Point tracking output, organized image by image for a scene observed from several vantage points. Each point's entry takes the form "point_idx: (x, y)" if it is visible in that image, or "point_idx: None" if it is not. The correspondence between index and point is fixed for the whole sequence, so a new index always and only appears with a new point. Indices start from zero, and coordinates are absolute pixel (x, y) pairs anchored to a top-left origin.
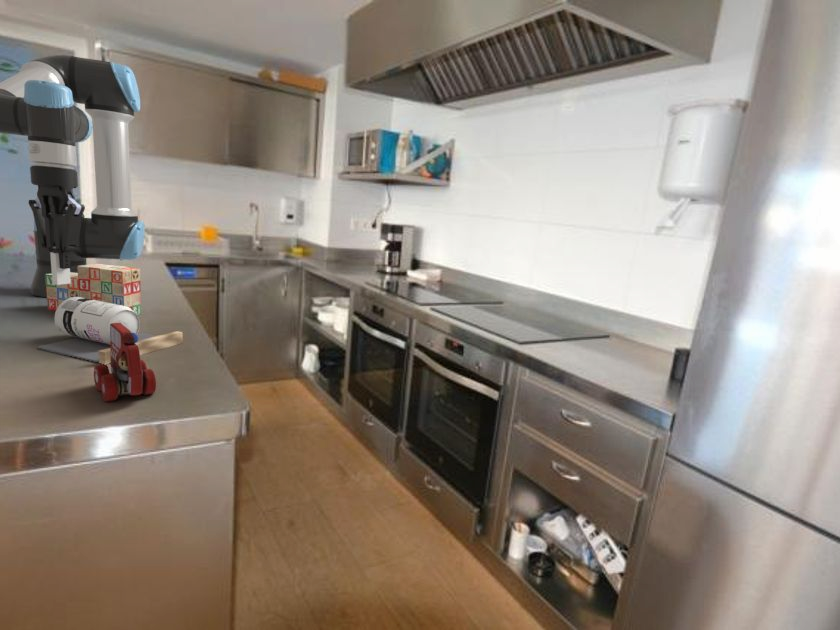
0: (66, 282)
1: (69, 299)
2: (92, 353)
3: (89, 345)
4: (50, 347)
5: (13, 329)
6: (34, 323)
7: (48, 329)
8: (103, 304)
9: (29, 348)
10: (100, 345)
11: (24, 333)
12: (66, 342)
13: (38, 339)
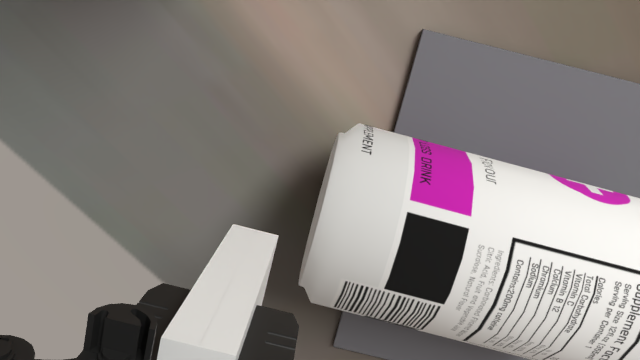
0: (271, 264)
1: (338, 278)
2: None
3: None
4: (376, 342)
5: (70, 180)
6: (46, 73)
7: (169, 133)
8: (572, 328)
9: (311, 346)
10: None
11: (149, 211)
12: None
13: None
